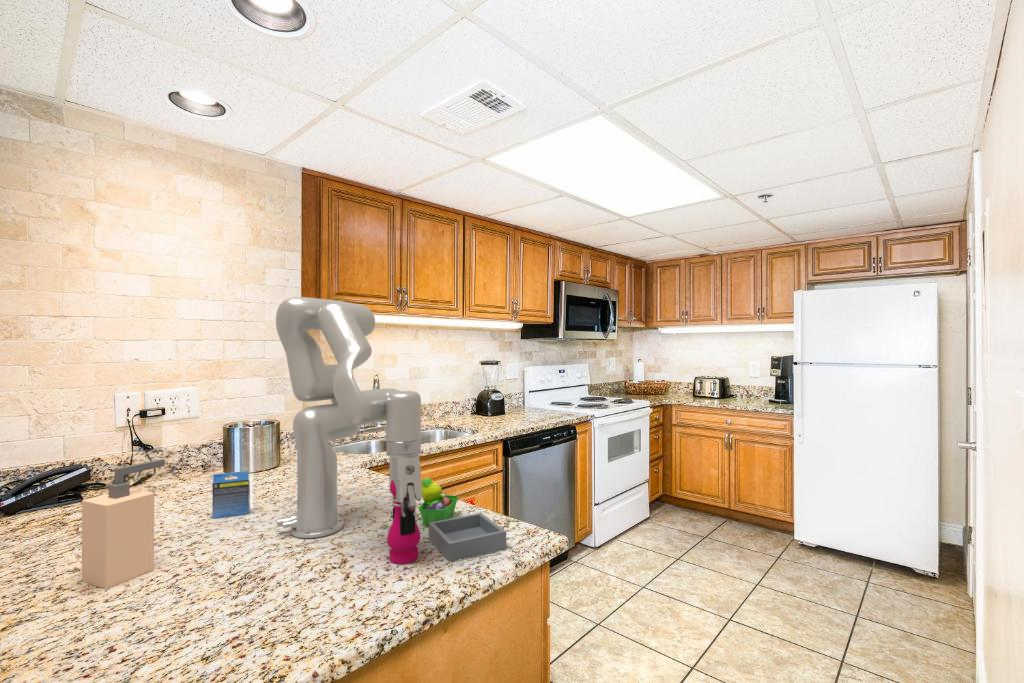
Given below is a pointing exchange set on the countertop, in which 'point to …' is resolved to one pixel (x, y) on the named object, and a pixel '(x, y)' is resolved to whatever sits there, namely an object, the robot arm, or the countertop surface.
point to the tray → (466, 536)
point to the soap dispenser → (118, 531)
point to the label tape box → (230, 494)
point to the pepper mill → (401, 545)
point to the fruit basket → (435, 503)
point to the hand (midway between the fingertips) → (403, 528)
